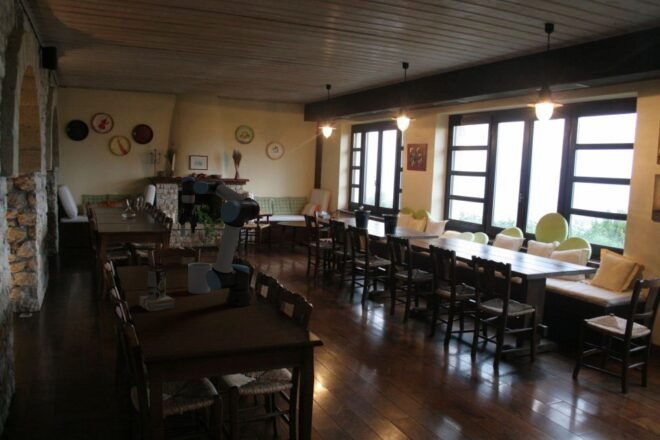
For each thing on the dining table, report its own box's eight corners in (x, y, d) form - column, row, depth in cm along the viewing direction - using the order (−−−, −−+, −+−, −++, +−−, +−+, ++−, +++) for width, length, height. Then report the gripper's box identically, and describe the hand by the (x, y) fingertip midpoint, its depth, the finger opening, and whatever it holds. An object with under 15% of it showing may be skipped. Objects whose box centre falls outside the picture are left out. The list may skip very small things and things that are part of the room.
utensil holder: (213, 293, 343) (213, 266, 341) (188, 294, 337) (189, 267, 336) (209, 288, 356) (209, 262, 355) (186, 289, 351) (186, 262, 349)
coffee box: (157, 300, 301) (157, 271, 299) (147, 299, 302) (147, 270, 301) (166, 296, 310) (166, 268, 308) (155, 295, 311) (156, 267, 310)
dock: (174, 308, 305) (174, 299, 304) (150, 311, 296) (150, 302, 295) (162, 302, 317) (163, 293, 317) (139, 305, 308) (139, 296, 308)
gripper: (173, 200, 335) (173, 234, 337) (191, 203, 316) (190, 239, 318) (185, 200, 340) (184, 234, 342) (203, 203, 321) (202, 239, 323)
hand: (187, 236), depth 330 cm, fingers open, 13 cm apart
